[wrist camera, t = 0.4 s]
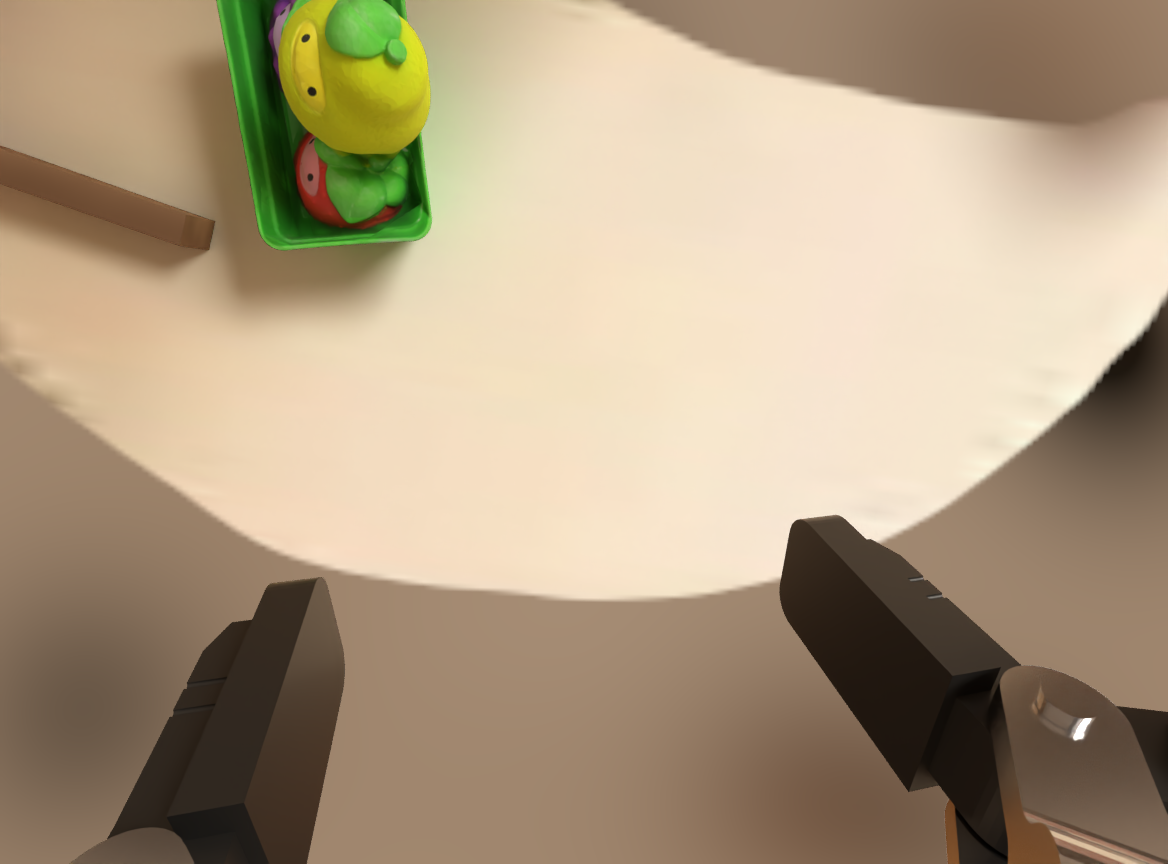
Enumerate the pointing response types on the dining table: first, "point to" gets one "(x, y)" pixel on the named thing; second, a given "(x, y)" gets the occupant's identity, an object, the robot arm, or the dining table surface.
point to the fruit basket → (330, 119)
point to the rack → (103, 200)
